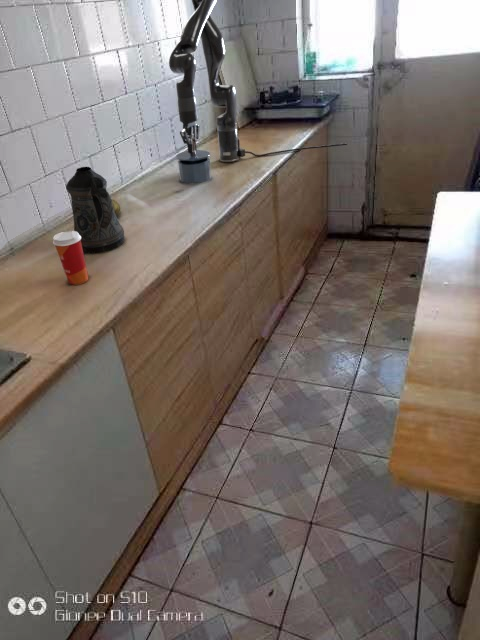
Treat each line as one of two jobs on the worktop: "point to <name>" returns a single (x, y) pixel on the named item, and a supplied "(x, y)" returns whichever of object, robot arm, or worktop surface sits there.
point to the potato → (116, 207)
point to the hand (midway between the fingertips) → (192, 152)
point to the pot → (194, 170)
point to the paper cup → (71, 256)
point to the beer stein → (94, 212)
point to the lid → (193, 155)
